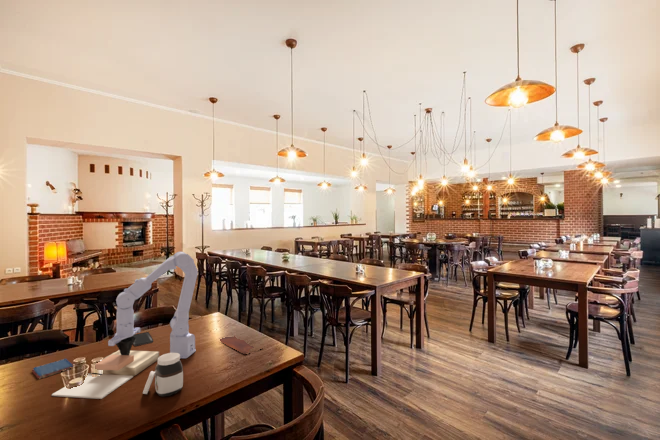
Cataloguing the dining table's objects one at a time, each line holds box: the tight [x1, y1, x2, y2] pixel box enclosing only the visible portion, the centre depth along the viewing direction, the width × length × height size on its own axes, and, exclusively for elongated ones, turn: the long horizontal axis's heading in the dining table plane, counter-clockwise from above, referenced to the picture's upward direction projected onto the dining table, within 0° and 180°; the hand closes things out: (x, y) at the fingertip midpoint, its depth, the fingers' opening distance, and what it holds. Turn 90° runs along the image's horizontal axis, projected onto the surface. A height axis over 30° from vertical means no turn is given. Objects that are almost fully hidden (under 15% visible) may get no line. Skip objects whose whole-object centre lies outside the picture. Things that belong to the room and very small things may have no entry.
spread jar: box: [142, 352, 184, 397], centre depth 105 cm, size 12×11×12 cm
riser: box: [102, 349, 160, 377], centre depth 124 cm, size 18×14×3 cm
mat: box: [51, 372, 134, 400], centre depth 109 cm, size 18×14×1 cm
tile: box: [95, 354, 134, 370], centre depth 118 cm, size 9×8×2 cm
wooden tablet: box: [219, 335, 254, 355], centre depth 145 cm, size 27×10×2 cm, turn 48°
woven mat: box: [31, 358, 74, 380], centre depth 120 cm, size 10×11×2 cm
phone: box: [132, 331, 154, 347], centre depth 151 cm, size 8×1×15 cm
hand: (125, 356), depth 123 cm, fingers closed
